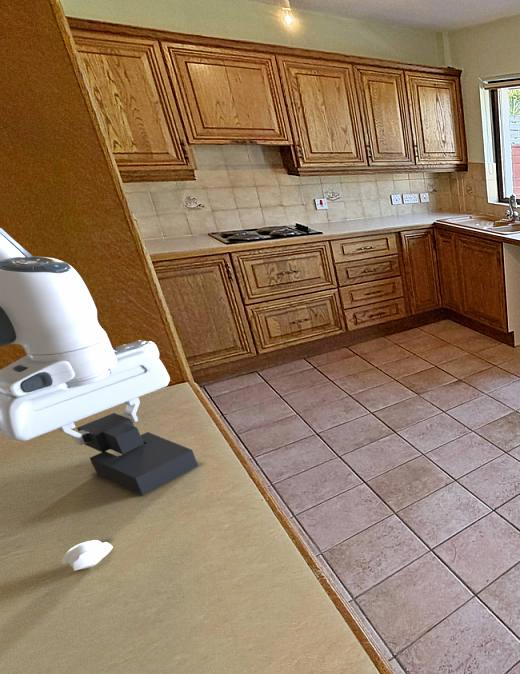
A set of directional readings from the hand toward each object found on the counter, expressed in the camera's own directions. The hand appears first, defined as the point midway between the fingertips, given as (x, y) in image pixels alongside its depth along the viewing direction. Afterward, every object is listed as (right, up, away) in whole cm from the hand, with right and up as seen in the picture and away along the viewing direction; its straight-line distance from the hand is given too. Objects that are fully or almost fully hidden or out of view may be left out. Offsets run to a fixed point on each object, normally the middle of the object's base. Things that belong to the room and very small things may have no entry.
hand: (108, 432), depth 80 cm
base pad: (+8, -6, -1) cm, 10 cm away
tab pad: (+2, -2, 0) cm, 2 cm away
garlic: (+16, -14, -17) cm, 27 cm away
